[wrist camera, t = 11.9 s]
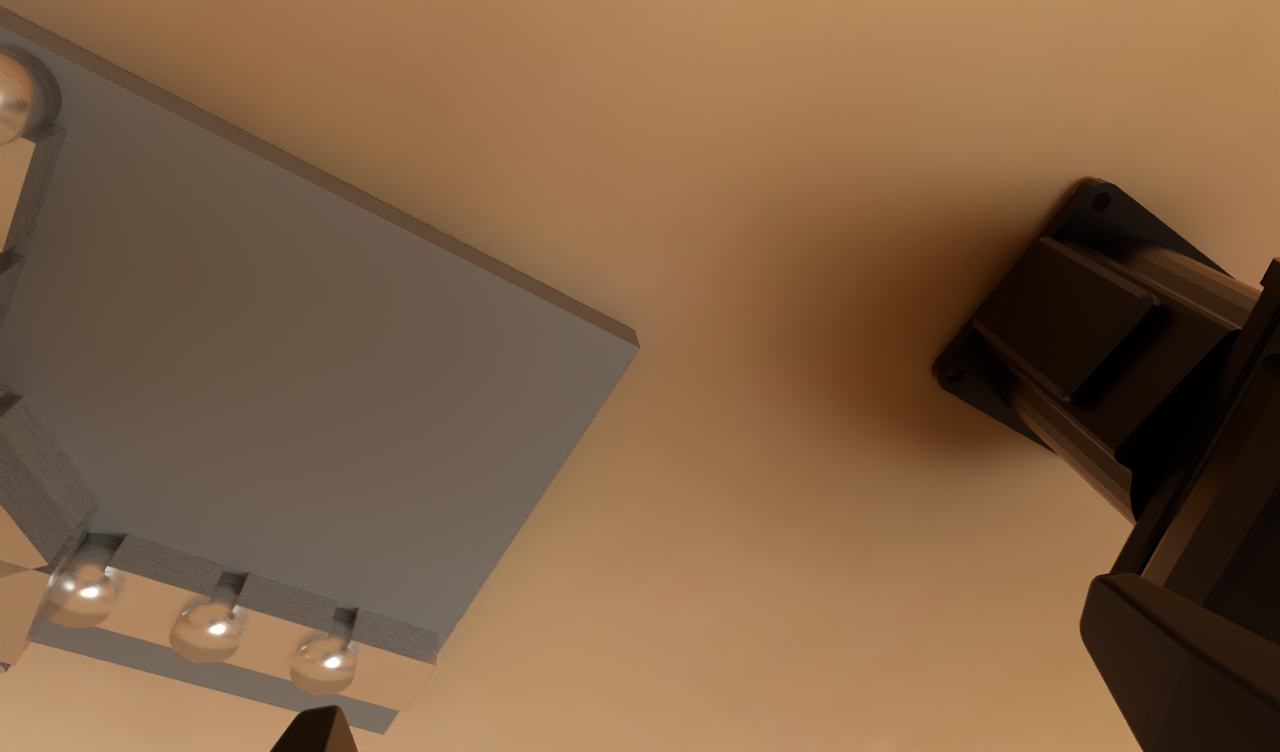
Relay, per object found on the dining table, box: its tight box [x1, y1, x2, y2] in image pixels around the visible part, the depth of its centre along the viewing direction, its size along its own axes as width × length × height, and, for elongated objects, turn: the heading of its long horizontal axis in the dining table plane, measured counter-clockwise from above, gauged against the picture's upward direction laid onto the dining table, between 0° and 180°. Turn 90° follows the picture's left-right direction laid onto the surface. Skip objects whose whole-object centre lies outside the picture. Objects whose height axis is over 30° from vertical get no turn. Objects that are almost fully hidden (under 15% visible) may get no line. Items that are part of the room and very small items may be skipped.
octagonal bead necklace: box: [0, 43, 439, 712], centre depth 18 cm, size 17×15×2 cm
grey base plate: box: [0, 7, 640, 734], centre depth 20 cm, size 17×15×1 cm
